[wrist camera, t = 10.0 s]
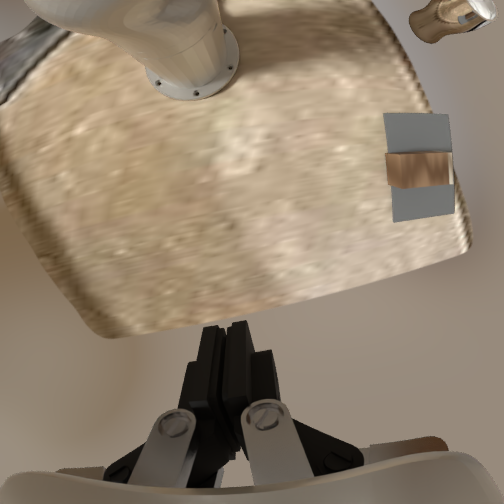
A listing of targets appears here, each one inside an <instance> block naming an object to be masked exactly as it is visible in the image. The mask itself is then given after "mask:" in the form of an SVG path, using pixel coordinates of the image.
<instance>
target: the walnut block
mask: <svg viewBox="0 0 504 504" xmlns="http://www.w3.org/2000/svg"><path fill="white" fill-rule="evenodd" d="M385 156H386V166H387V178H388V185H391V186H394V187H398V188H401V189H408V188H418V187H427V186H438V185H449V184H454V183H453V162H452V152H442V151H417V152H398V153H385Z"/></svg>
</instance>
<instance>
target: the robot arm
mask: <svg viewBox="0 0 504 504" xmlns="http://www.w3.org/2000/svg"><path fill="white" fill-rule="evenodd" d="M24 2H25V3H26V4H27V5H28V7H29V8H30V9H31V10H32V11H33V12H34V13H36V14H37V15H38V16H39V17H41V18H42V19H44V20H45V21H47V22H49V23H51V24H53V25H55V26H58V27H60V28H63V29H66V30H68V31H72V32H76V33H81V34H85V35H91V36H96V37H101V38H104V39H107V40H109V41H110V42H112V43H114V44H115V45H117V46H118V47H120V48H121V49H123V50H124V51H125V52H126V53H128V54H129V55H131V56H132V57H133V58H135V59H136V60H137V61H139V62H140V63H141V64H143V65H144V66H145V70H146V74H147V77H148V79H149V81H150V83H151V84H152V85H153V86H154V88H155V89H156V90H158V91H159V92H160V93H162V94H163V95H165V96H167V97H169V98H172V99H175V100H180V101H195V100H200V99H204V98H206V97H209V96H211V95H213V94H215V93H217V92H218V91H220V90H221V89H222V88H223V87H225V86H226V85H227V84H228V82H229V81H230V80H231V79H232V77H233V76H234V74H235V72H236V70H237V67H238V63H239V47H238V43H237V40H236V38H235V36H234V35H233V33H232V32H231V31H230V29H228V28H227V27H226V26H225V25H224V24H222V22H221V17H220V12H219V7H218V2H217V0H24ZM224 32H225V33H226V34H224ZM229 67H232V70H229ZM159 83H161V85H160V86H159V85H158V84H159ZM196 93H199V95H198V96H196ZM241 447H242V449H243V451H244V454H245V456H246V458H247V460H248V461H249V462H250V467H251V471H252V476H253V481H254V485H255V486H245V487H229V488H220V486H221V483H222V478H223V474H224V468H223V466H224V465H225V464H226V463H227V462H229V460H235V456H236V452H238V451H240V449H241ZM0 504H504V497H503V495H502V493H501V491H500V490H499V488H498V486H497V485H496V483H495V481H494V480H493V478H492V477H491V475H490V474H489V473H488V471H487V470H486V469H485V468H484V466H483V465H482V464H481V463H480V462H479V461H478V460H477V459H475V458H474V457H472V456H471V455H469V454H466V453H462V452H454V451H449V450H448V446H447V444H446V443H445V441H443V440H442V439H441V438H438V437H435V436H427V437H421V438H415V439H410V440H404V441H397V442H390V443H382V444H373V445H370V448H360V449H358V448H357V447H355V446H353V445H351V444H349V443H346V442H344V441H341V440H339V439H337V438H334V437H332V436H330V435H327V434H325V433H323V432H320V431H318V430H316V429H314V428H311V427H309V426H307V425H305V424H303V423H301V422H299V421H297V420H295V419H292V418H291V415H290V412H289V410H288V408H287V407H286V405H285V404H283V403H282V402H281V399H280V392H279V384H278V378H277V372H276V367H275V362H274V358H273V353H272V350H266V351H260V352H255V350H254V346H253V343H252V338H251V335H250V331H249V327H248V323H247V321H246V320H245V321H239V322H233V323H232V326H231V327H228V328H227V336H226V332H225V329H224V328H219V326H218V325H215V326H209V327H204V328H203V332H202V337H201V341H200V346H199V351H198V356H197V361H193V362H189V363H188V365H187V369H186V373H185V378H184V382H183V386H182V391H181V396H180V400H179V405H178V409H173V410H169V411H167V412H165V413H163V414H162V415H161V416H160V417H159V418H158V419H157V420H156V422H155V423H154V426H153V428H152V430H151V432H150V434H149V436H148V439H147V441H146V442H145V443H144V444H142V445H141V446H140V447H138V448H136V449H135V450H133V451H132V452H130V453H128V454H127V455H125V456H124V457H122V458H121V459H119V460H117V461H116V462H114V463H113V464H111V465H110V466H109V467H108V468H107V469H106V468H104V467H103V466H100V467H85V468H64V469H59V470H58V471H56V472H49V471H27V472H20V473H16V474H13V475H12V476H10V477H8V478H7V479H6V480H5V482H4V483H3V485H2V486H1V488H0Z"/></svg>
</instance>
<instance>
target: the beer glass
mask: <svg viewBox="0 0 504 504" xmlns="http://www.w3.org/2000/svg"><path fill="white" fill-rule="evenodd" d="M497 18H498V10H497V7H496V4H495V2H494V0H431V1H430V3H429V4H428V5H427V6H426V7H425V8H423V9H421V10H418V11H414V12H412V13H411V14H410V16H409V24H410V27H411V29H412V31H413V32H414V34H415V35H416V36H417V37H418V38H419V39H421V40H422V41H424V42H426V43H430V44H432V43H436V42H438V41H439V40H440V39H441V38H442V37H444V36H445V35H450V34H458V33H465V32H470V31H473V30H476V29H479V28H481V27H483V26H486V25H488V24H490V23H491V22H494V21H495V20H497Z"/></svg>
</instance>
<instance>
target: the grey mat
mask: <svg viewBox="0 0 504 504" xmlns="http://www.w3.org/2000/svg"><path fill="white" fill-rule="evenodd" d="M383 116H384V123H385V130H386V138H387V146H388V153H398V152H417V151H442V152H452V143H451V133H450V124H449V117H448V114H425V113H383ZM452 162H453V155H452ZM453 183H454V170H453ZM391 190H392V208H393V222H401V221H407V220H414V219H420V218H427V217H434V216H440V215H447V214H454V184H449V185H438V186H427V187H418V188H408V189H401V188H398V187H394V186H391Z"/></svg>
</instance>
